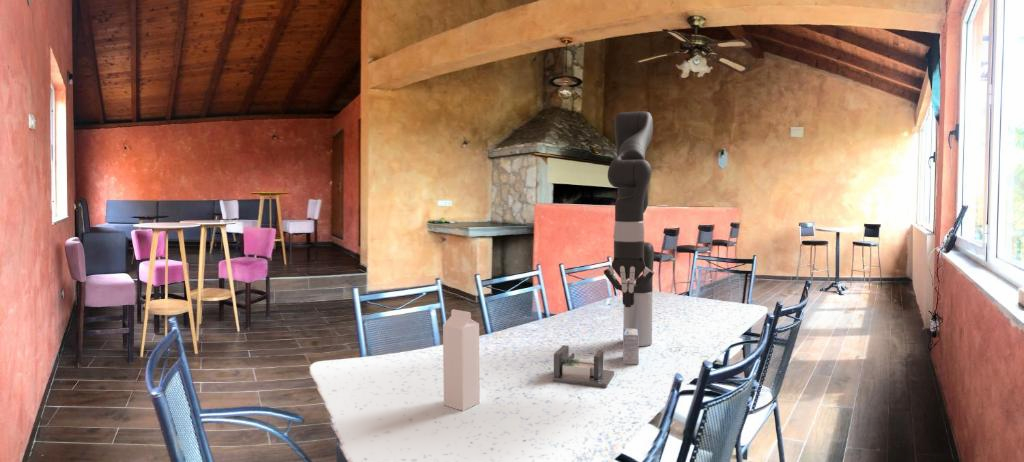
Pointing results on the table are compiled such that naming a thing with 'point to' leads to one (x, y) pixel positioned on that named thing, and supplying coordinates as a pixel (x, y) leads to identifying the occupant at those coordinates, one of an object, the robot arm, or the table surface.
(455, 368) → the milk
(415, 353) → the table surface
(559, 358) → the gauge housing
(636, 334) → the medicine box
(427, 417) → the table surface
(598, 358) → the plunger
